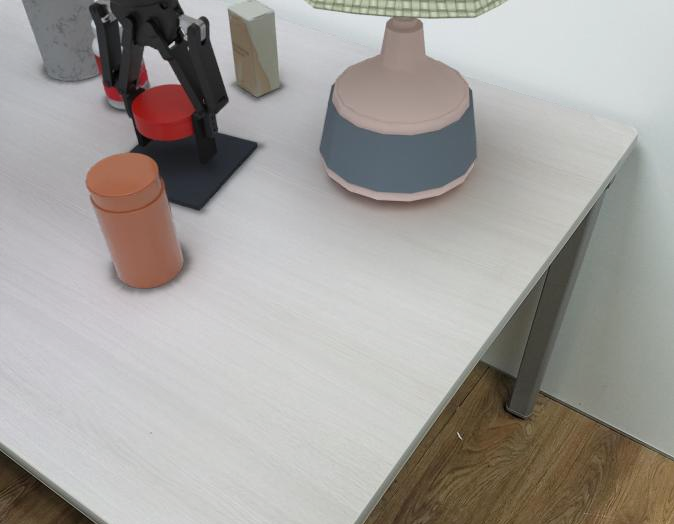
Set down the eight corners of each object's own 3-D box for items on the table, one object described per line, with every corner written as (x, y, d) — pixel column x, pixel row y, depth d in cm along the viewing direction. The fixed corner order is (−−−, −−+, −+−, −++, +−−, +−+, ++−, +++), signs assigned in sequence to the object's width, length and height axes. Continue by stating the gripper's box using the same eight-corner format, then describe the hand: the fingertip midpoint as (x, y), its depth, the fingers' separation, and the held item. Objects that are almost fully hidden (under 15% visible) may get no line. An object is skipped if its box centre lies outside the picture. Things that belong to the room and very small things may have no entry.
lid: (187, 94, 87) (183, 76, 85) (219, 124, 82) (216, 106, 81) (124, 116, 84) (119, 98, 82) (154, 149, 79) (150, 131, 78)
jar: (103, 277, 75) (67, 185, 66) (142, 235, 79) (114, 144, 70) (159, 296, 73) (131, 204, 64) (196, 253, 77) (174, 161, 68)
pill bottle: (107, 91, 99) (84, 13, 91) (150, 84, 100) (131, 6, 92) (109, 114, 95) (85, 35, 87) (154, 107, 96) (135, 28, 88)
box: (235, 84, 100) (224, 6, 91) (260, 73, 102) (251, -4, 93) (257, 99, 97) (248, 19, 89) (282, 87, 99) (275, 9, 91)
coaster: (102, 181, 86) (101, 177, 85) (166, 122, 94) (165, 118, 93) (199, 210, 82) (198, 206, 81) (257, 146, 90) (257, 142, 89)
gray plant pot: (121, 50, 107) (98, -34, 98) (96, 83, 101) (69, -4, 92) (62, 46, 108) (34, -38, 99) (34, 78, 102) (2, -8, 93)
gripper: (24, -50, 70) (90, 145, 87) (204, -15, 64) (236, 187, 81) (72, -76, 74) (126, 115, 91) (245, -46, 68) (267, 152, 85)
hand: (177, 149), depth 86 cm, fingers closed on lid, 8 cm apart
